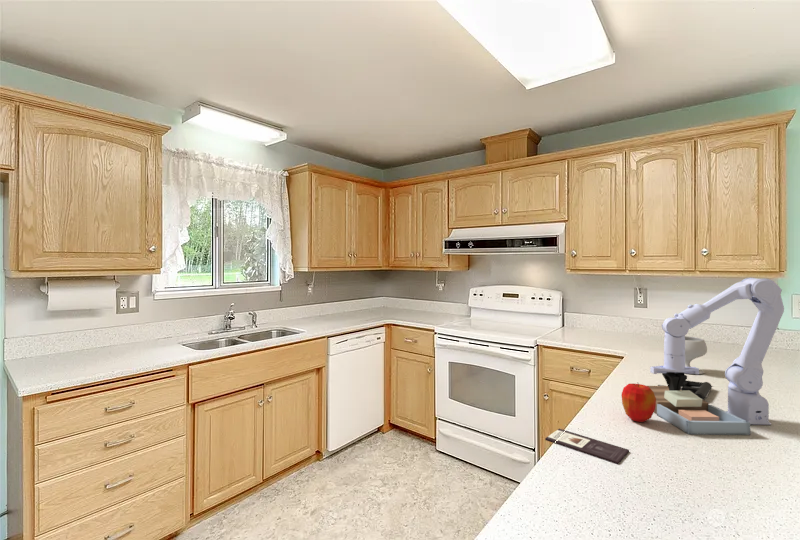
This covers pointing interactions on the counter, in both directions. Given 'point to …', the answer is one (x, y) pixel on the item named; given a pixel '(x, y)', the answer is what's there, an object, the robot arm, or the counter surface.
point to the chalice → (694, 349)
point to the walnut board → (660, 399)
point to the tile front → (698, 415)
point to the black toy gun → (697, 388)
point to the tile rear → (683, 398)
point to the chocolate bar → (588, 446)
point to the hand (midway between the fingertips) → (674, 395)
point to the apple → (638, 402)
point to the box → (707, 422)
